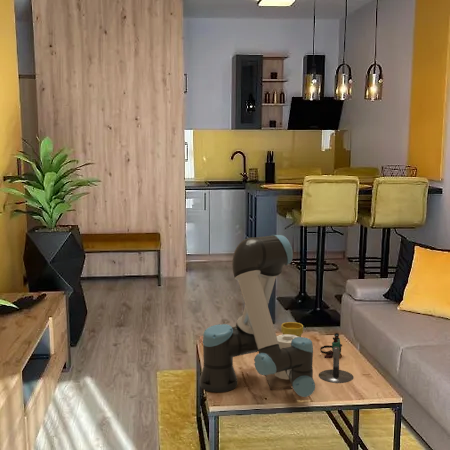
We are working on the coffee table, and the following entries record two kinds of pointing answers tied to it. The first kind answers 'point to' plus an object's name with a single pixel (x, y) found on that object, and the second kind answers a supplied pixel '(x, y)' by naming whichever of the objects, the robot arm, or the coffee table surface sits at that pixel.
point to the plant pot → (292, 328)
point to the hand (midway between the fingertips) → (285, 350)
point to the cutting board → (278, 382)
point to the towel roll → (283, 343)
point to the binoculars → (334, 344)
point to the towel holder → (336, 371)
